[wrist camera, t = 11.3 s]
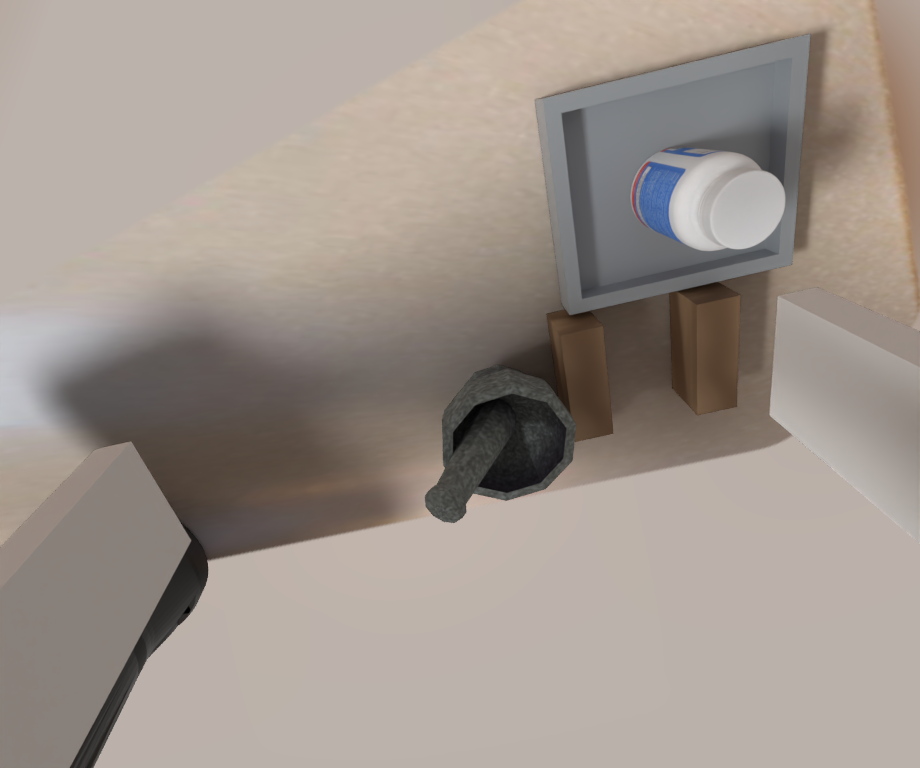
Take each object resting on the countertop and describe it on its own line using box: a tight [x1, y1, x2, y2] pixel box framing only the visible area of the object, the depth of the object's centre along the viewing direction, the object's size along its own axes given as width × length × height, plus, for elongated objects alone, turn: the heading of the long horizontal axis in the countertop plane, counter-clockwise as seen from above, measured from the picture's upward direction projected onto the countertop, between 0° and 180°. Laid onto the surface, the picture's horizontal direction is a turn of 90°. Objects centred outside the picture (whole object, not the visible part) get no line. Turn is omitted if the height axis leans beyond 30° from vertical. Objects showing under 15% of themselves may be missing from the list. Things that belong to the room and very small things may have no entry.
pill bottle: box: [630, 147, 785, 251], centre depth 32 cm, size 6×5×10 cm
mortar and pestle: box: [425, 365, 576, 523], centre depth 38 cm, size 11×9×12 cm
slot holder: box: [546, 282, 740, 442], centre depth 40 cm, size 12×9×4 cm
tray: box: [535, 34, 811, 315], centre depth 36 cm, size 16×14×2 cm
